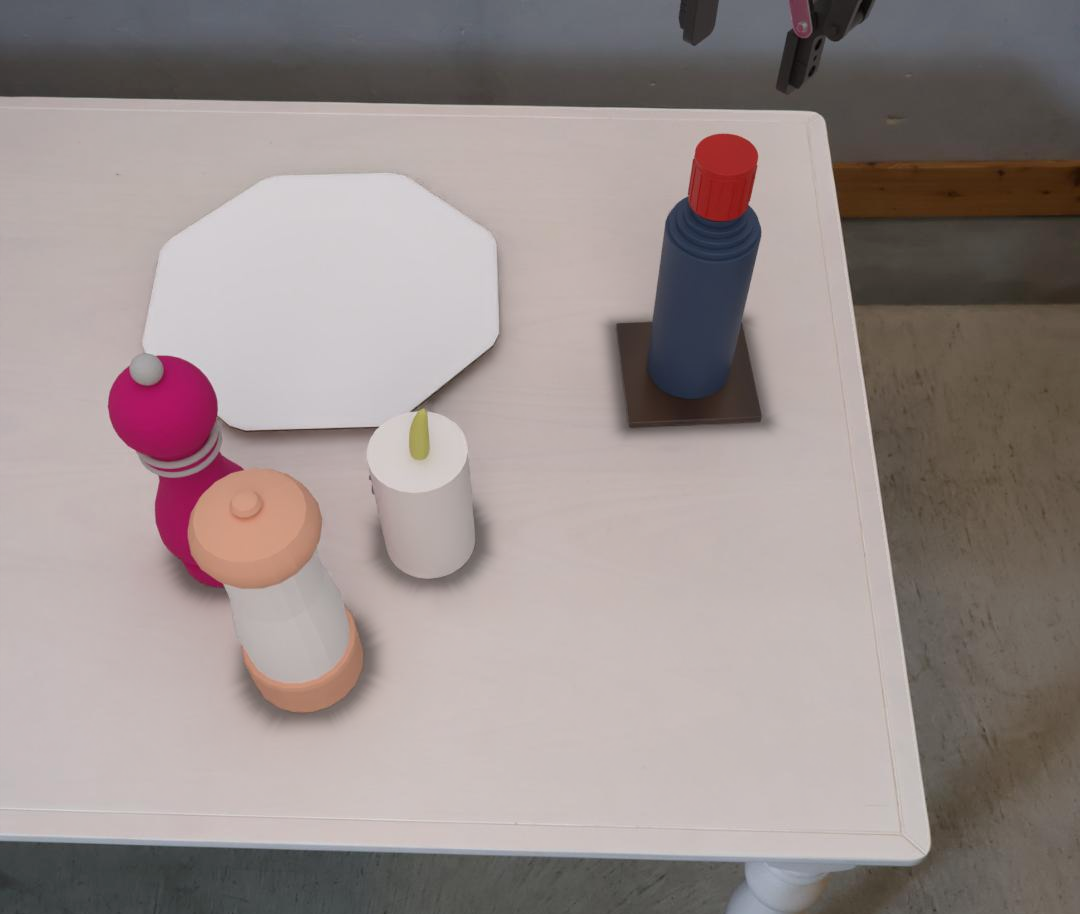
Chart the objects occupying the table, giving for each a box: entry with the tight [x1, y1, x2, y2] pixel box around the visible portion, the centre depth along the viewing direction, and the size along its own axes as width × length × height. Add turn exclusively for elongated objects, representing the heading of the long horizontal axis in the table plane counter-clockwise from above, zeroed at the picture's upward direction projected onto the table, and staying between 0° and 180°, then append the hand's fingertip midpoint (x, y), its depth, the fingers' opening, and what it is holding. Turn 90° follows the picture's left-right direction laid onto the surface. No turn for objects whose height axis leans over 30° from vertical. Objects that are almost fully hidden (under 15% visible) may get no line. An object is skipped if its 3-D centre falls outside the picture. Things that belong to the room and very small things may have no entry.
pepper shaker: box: [188, 468, 365, 713], centre depth 65 cm, size 7×7×19 cm
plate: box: [141, 172, 500, 433], centre depth 89 cm, size 28×28×2 cm
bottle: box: [647, 195, 763, 399], centre depth 77 cm, size 6×6×20 cm
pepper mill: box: [107, 352, 245, 588], centre depth 69 cm, size 7×7×20 cm
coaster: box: [615, 321, 763, 429], centre depth 86 cm, size 10×10×1 cm
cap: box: [687, 132, 759, 221], centre depth 70 cm, size 4×4×4 cm
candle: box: [366, 408, 476, 580], centre depth 71 cm, size 6×6×15 cm
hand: (744, 60), depth 63 cm, fingers open, 6 cm apart
